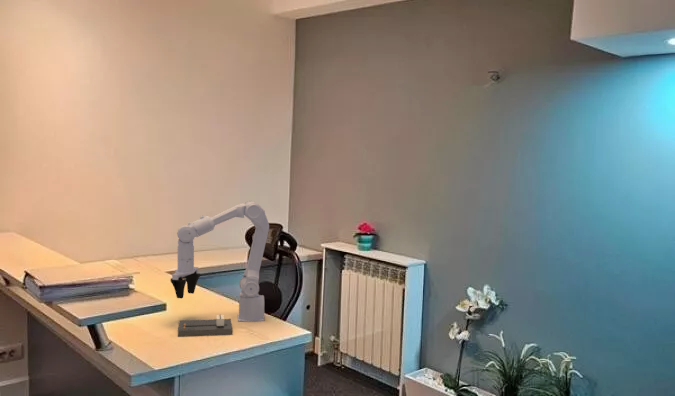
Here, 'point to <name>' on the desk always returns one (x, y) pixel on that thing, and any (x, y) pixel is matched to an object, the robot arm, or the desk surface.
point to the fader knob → (220, 320)
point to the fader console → (203, 328)
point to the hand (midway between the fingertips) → (185, 295)
